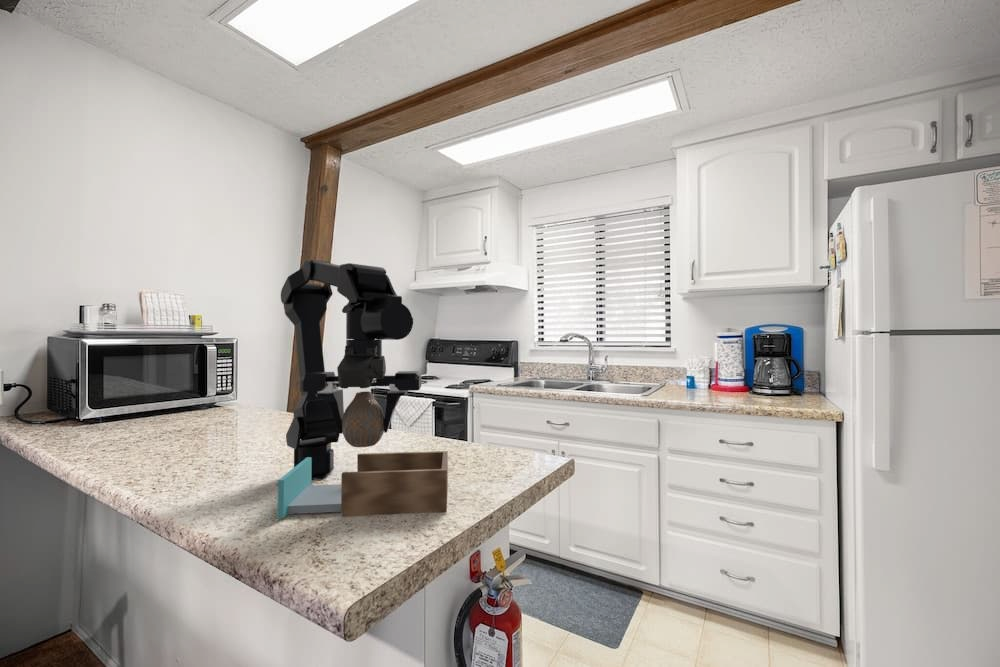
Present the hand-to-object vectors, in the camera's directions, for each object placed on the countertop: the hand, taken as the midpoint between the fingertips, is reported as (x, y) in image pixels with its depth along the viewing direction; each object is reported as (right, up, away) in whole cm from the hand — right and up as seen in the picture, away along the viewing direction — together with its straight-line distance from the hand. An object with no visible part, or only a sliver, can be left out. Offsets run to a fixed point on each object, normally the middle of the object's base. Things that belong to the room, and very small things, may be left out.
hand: (363, 432), depth 73 cm
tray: (-3, -11, -1) cm, 12 cm away
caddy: (+6, -12, 0) cm, 13 cm away
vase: (0, -2, 0) cm, 2 cm away
